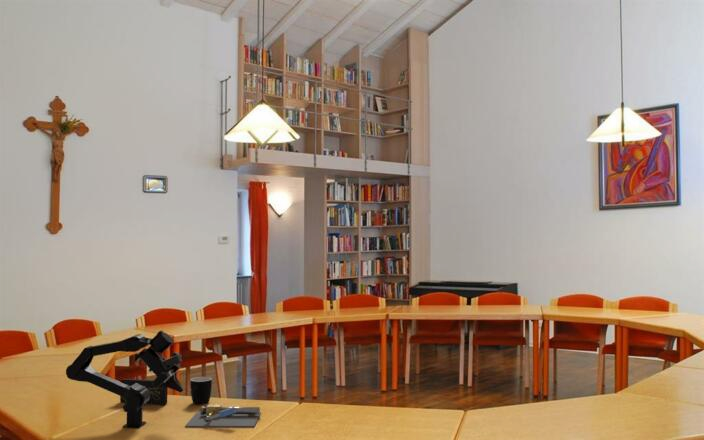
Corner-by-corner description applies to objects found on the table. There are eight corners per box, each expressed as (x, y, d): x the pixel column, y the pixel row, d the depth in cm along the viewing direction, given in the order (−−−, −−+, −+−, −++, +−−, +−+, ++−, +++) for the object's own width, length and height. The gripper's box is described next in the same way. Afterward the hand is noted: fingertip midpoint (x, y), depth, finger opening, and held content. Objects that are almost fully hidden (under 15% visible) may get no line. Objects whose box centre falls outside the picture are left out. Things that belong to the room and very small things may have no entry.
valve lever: (203, 417, 233) (233, 407, 234) (204, 416, 235) (234, 406, 235) (205, 422, 233) (235, 412, 234) (206, 421, 235) (236, 411, 235)
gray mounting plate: (184, 427, 232) (184, 425, 232) (196, 413, 250) (196, 412, 250) (254, 427, 232) (254, 425, 232) (261, 413, 250) (261, 412, 250)
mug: (195, 399, 271) (195, 376, 272) (214, 400, 270) (214, 377, 270) (183, 407, 259) (184, 382, 260) (204, 408, 258) (204, 383, 258)
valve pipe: (195, 423, 235) (195, 412, 236) (202, 414, 247) (202, 404, 247) (255, 423, 236) (255, 412, 236) (260, 414, 247) (260, 404, 247)
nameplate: (167, 404, 264) (167, 380, 264) (165, 405, 262) (165, 381, 263) (122, 401, 268) (122, 378, 268) (120, 402, 266) (120, 379, 266)
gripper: (162, 351, 226) (191, 382, 225) (176, 342, 244) (203, 371, 244) (139, 372, 225) (169, 403, 225) (155, 362, 244) (182, 390, 244)
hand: (182, 391), depth 235 cm, fingers closed
